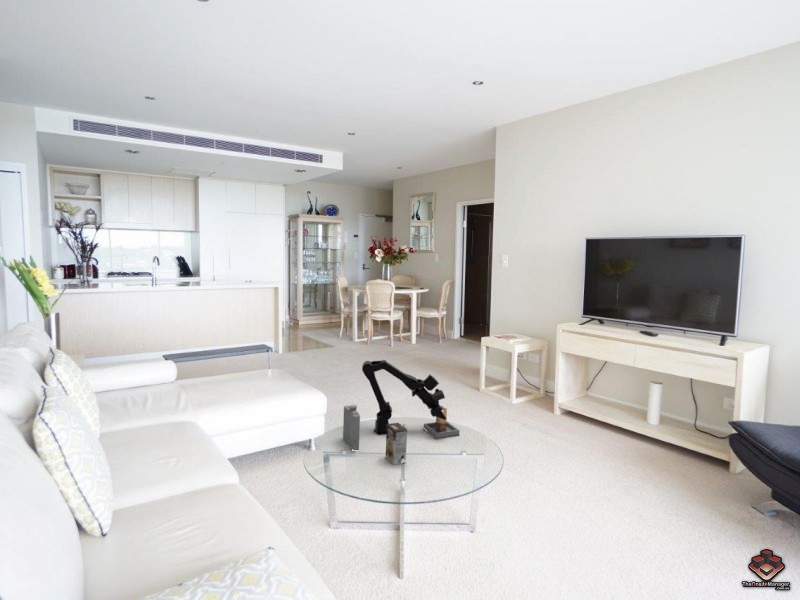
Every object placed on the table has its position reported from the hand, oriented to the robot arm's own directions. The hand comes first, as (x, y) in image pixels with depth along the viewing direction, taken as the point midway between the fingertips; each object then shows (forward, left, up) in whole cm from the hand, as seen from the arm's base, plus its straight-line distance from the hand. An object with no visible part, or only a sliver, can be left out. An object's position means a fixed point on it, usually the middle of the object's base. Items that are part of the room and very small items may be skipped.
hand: (444, 416), depth 249 cm
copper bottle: (-1, 0, -8) cm, 8 cm away
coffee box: (-37, -21, -9) cm, 44 cm away
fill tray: (-1, 0, -9) cm, 9 cm away
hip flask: (-51, +1, -9) cm, 52 cm away
